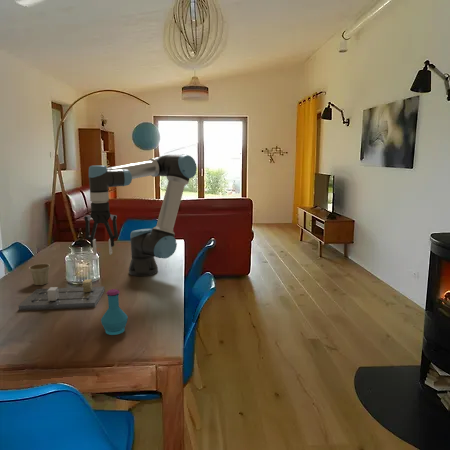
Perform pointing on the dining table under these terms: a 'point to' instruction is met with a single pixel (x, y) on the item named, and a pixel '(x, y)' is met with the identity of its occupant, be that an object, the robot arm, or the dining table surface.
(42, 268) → the flower pot
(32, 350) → the dining table surface
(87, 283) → the block
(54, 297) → the grey fader
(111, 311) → the perfume bottle
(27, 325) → the dining table surface
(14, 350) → the dining table surface
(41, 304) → the console
